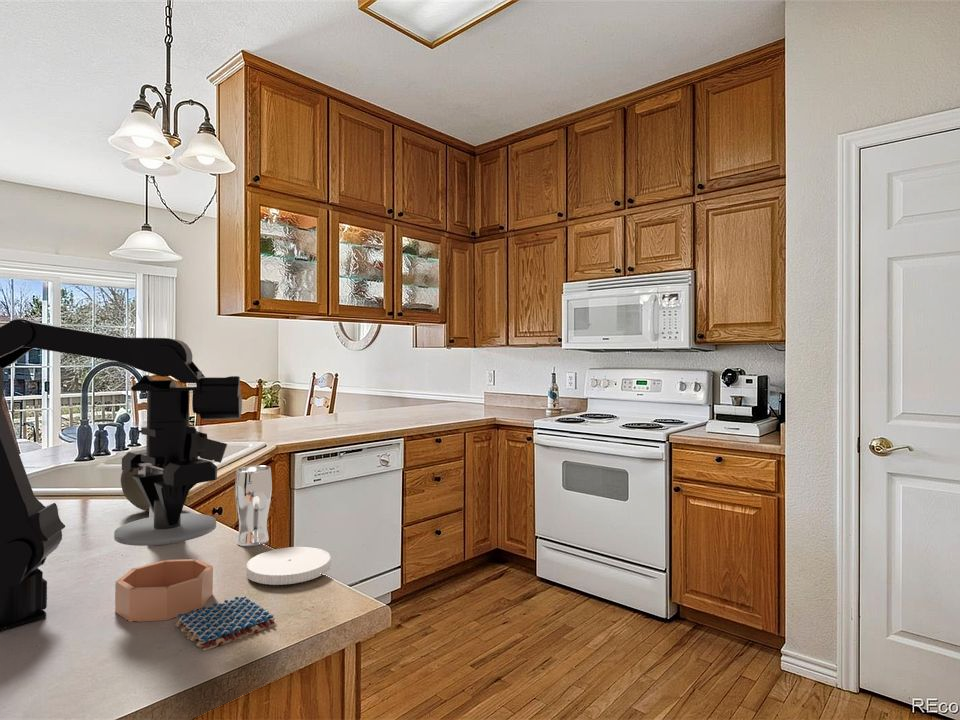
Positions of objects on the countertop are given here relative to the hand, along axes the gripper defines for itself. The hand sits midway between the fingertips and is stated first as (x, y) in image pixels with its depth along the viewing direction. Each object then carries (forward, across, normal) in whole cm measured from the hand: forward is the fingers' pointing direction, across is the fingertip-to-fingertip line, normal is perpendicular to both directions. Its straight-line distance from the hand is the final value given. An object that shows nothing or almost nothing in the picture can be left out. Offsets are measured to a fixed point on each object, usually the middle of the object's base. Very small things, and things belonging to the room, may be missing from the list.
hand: (167, 522), depth 86 cm
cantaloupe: (+12, +54, -21) cm, 59 cm away
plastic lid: (+13, -4, -19) cm, 23 cm away
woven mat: (+13, -14, -2) cm, 19 cm away
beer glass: (+13, +16, -24) cm, 31 cm away
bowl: (+12, 0, 0) cm, 12 cm away
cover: (+1, 0, 0) cm, 1 cm away
